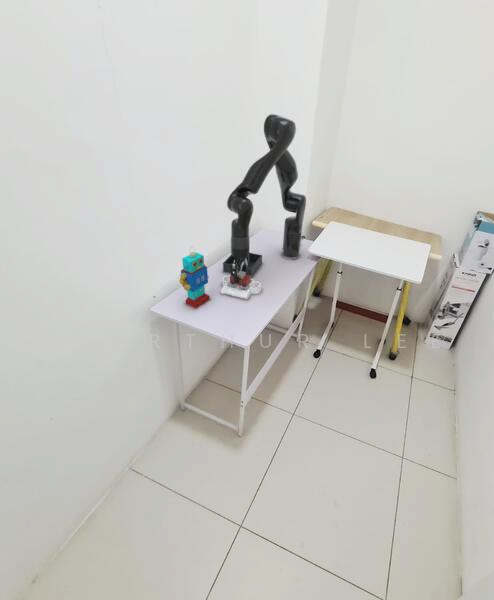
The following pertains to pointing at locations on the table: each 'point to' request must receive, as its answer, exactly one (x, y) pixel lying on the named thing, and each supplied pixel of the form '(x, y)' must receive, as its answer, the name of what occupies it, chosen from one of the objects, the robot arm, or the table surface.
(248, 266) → the storage box
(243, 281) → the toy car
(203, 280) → the toy robot
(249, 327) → the table surface
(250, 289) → the knuckle duster
